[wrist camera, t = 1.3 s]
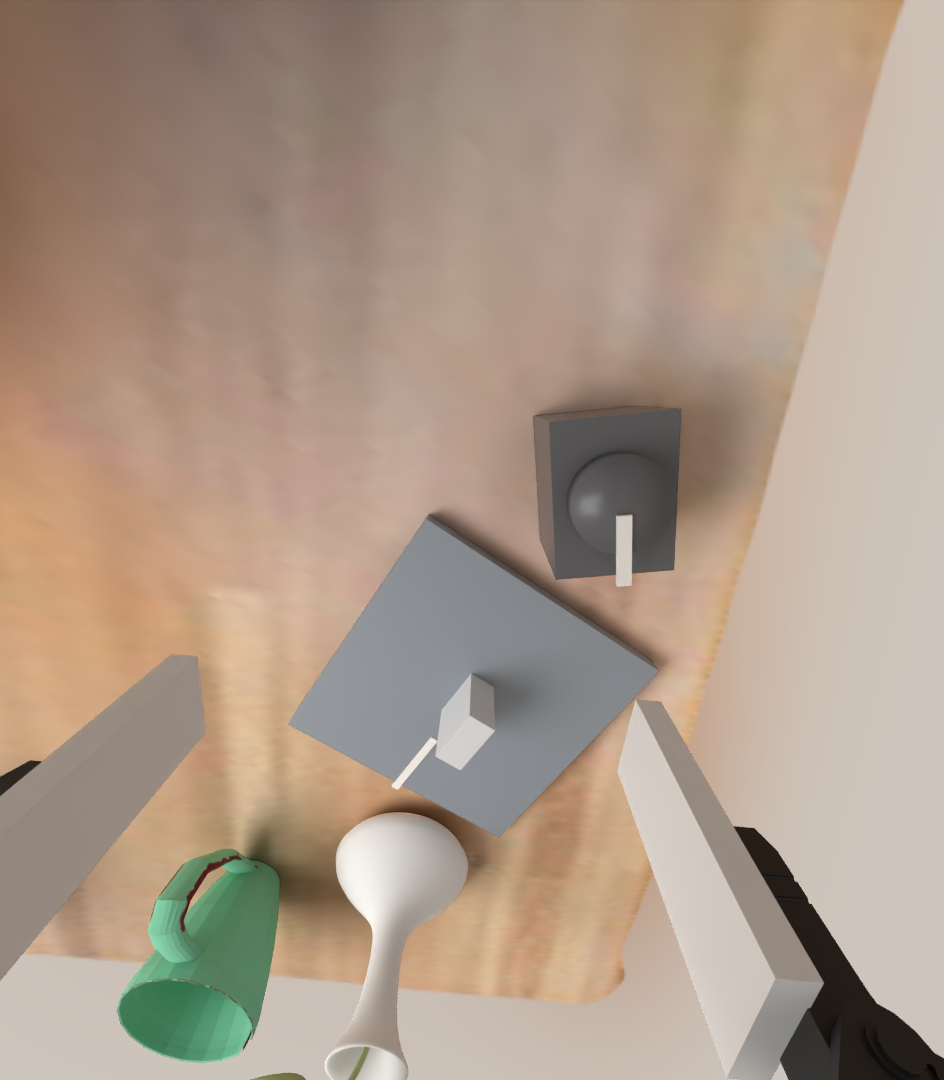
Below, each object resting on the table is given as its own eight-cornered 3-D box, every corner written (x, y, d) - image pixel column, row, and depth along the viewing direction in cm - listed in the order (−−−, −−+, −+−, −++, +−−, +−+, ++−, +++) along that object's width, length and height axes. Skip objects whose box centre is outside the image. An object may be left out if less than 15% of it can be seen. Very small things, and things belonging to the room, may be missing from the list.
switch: (428, 514, 30) (416, 540, 24) (653, 661, 33) (686, 713, 28) (291, 717, 35) (256, 775, 30) (495, 827, 38) (496, 898, 33)
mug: (315, 913, 42) (266, 1063, 33) (215, 915, 43) (139, 1063, 33) (285, 796, 38) (219, 930, 28) (175, 799, 38) (73, 932, 29)
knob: (533, 416, 28) (554, 424, 19) (633, 405, 27) (697, 409, 19) (540, 539, 30) (561, 593, 22) (631, 531, 30) (688, 582, 22)
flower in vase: (495, 843, 39) (513, 1539, 15) (416, 908, 42) (327, 1581, 18) (377, 765, 37) (181, 1446, 13) (301, 840, 39) (27, 1511, 16)
